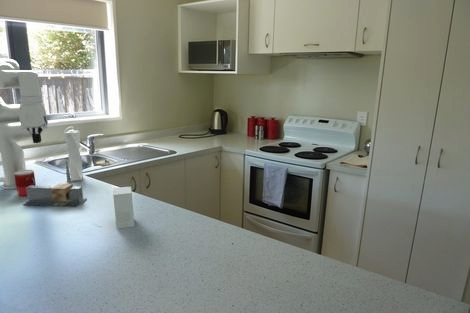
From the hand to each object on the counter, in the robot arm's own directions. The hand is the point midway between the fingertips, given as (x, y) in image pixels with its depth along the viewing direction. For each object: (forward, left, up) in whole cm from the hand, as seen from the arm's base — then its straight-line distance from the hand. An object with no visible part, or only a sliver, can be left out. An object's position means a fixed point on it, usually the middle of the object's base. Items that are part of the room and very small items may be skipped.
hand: (37, 142), depth 152 cm
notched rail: (+10, -7, -25) cm, 28 cm away
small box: (+49, -26, -25) cm, 61 cm away
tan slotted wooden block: (+13, -7, -23) cm, 28 cm away
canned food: (-10, +2, -25) cm, 27 cm away
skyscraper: (0, +26, -25) cm, 37 cm away
